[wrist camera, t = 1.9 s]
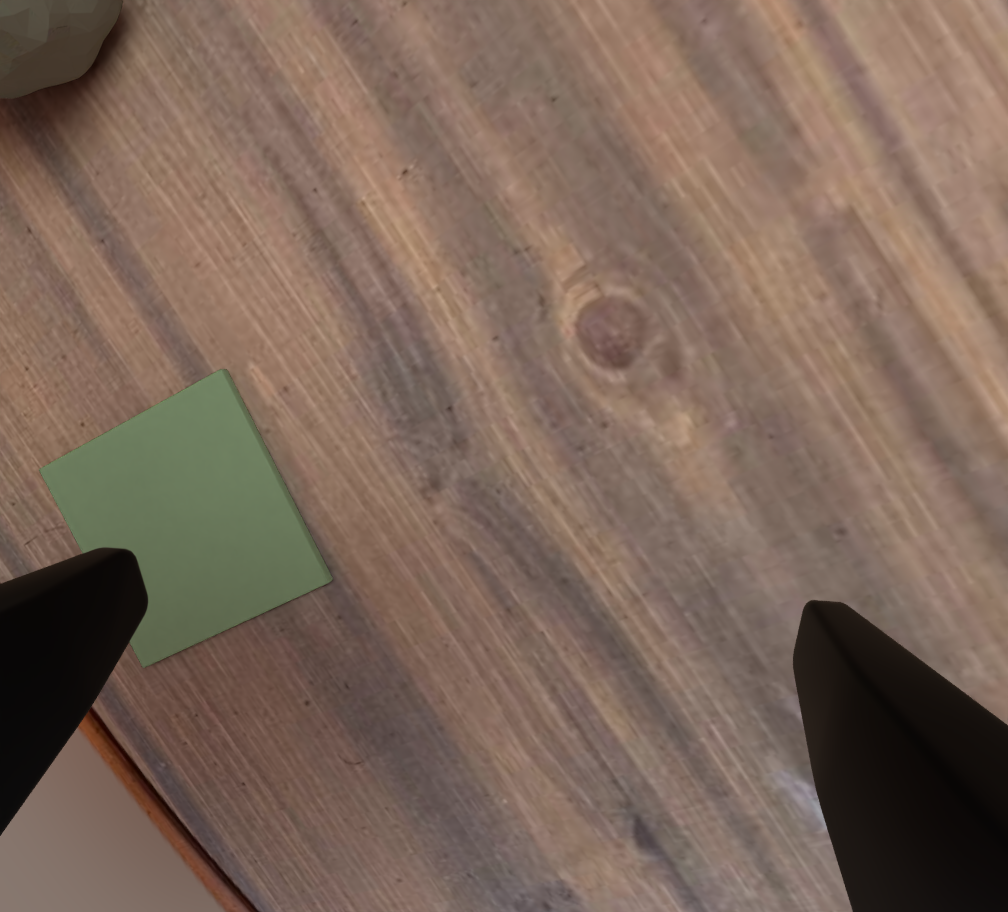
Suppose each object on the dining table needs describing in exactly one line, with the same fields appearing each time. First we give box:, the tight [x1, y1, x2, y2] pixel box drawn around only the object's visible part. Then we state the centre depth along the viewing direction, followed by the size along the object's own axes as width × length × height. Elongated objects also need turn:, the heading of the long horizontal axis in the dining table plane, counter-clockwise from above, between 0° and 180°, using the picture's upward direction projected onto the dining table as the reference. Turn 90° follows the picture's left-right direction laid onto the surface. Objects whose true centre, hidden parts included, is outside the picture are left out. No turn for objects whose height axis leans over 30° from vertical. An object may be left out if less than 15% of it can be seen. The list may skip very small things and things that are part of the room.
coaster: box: [39, 369, 333, 668], centre depth 23 cm, size 8×8×1 cm
